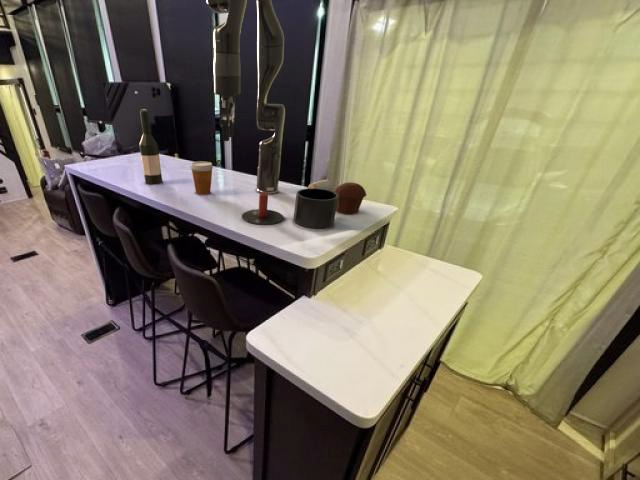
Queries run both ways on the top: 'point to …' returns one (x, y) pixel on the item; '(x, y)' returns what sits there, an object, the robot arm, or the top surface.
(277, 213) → the lid
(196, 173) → the disposable coffee cup
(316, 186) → the ceramic mug
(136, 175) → the top surface
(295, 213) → the pot
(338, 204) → the muffin
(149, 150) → the wine bottle
